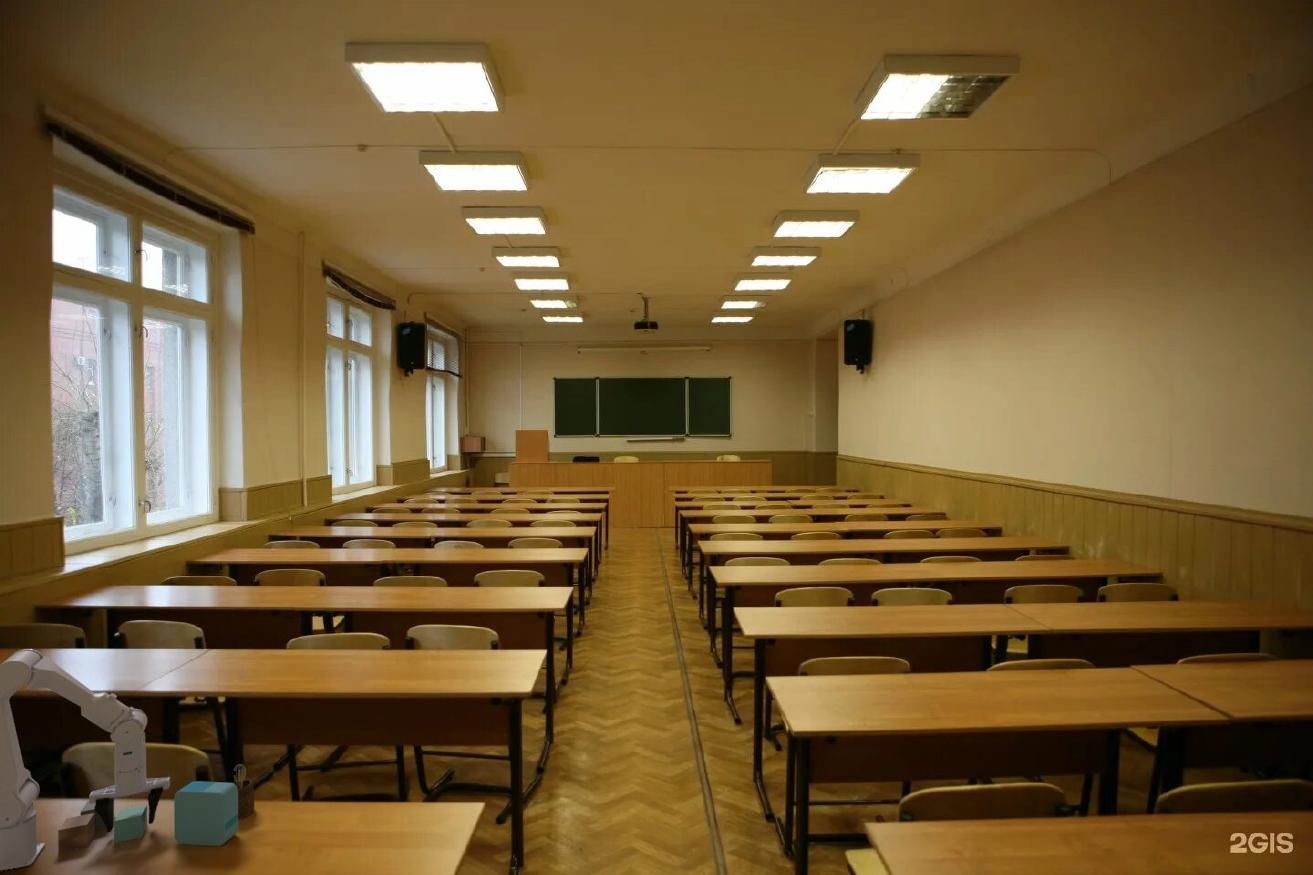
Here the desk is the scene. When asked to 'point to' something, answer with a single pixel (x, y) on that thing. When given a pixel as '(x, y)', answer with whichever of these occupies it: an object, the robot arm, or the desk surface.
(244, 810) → the utensil holder
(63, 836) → the walnut block
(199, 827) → the data package
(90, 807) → the charcoal block
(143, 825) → the teal block
